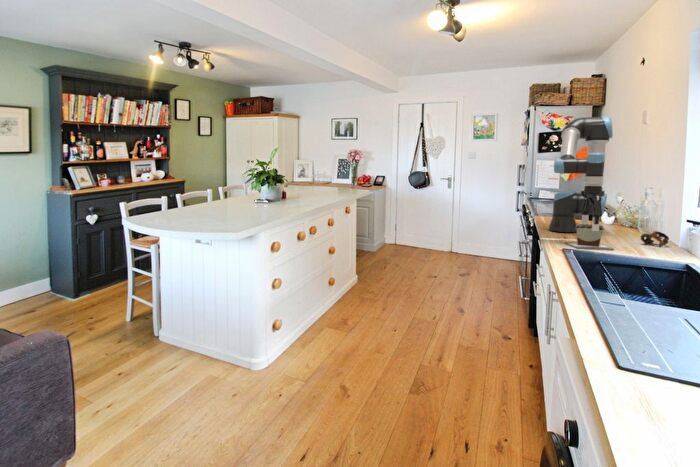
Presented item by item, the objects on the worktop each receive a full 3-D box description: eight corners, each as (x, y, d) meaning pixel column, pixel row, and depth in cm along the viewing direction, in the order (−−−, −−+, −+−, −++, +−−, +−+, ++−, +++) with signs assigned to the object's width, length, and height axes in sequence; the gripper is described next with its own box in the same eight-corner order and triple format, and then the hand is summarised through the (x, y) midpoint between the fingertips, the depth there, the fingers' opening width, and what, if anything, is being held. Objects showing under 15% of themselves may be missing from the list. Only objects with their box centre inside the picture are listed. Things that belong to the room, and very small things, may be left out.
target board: (564, 243, 220) (564, 242, 220) (598, 244, 217) (598, 243, 217) (577, 248, 202) (577, 247, 202) (613, 250, 199) (614, 248, 199)
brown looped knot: (656, 244, 223) (665, 232, 218) (664, 255, 215) (674, 242, 210) (633, 239, 223) (642, 226, 218) (640, 249, 215) (650, 236, 211)
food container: (604, 245, 208) (605, 225, 207) (602, 247, 203) (604, 226, 202) (575, 243, 215) (577, 223, 214) (573, 244, 210) (575, 224, 209)
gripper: (576, 185, 219) (572, 226, 222) (595, 185, 195) (591, 232, 197) (591, 185, 218) (588, 227, 220) (613, 186, 193) (608, 232, 196)
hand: (589, 229), depth 209 cm, fingers open, 13 cm apart
